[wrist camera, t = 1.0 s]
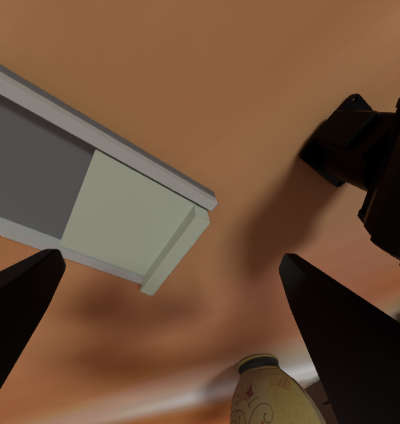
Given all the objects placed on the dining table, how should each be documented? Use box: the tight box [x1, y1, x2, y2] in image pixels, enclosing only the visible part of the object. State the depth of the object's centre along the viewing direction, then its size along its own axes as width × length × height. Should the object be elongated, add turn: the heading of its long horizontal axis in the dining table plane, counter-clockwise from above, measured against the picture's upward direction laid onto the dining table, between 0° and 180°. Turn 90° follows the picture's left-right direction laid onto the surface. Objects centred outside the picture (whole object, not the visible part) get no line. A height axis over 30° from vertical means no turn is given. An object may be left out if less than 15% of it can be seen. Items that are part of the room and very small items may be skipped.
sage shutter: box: [59, 149, 210, 296], centre depth 18 cm, size 11×11×3 cm
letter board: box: [0, 65, 218, 285], centre depth 18 cm, size 22×14×3 cm, turn 57°
